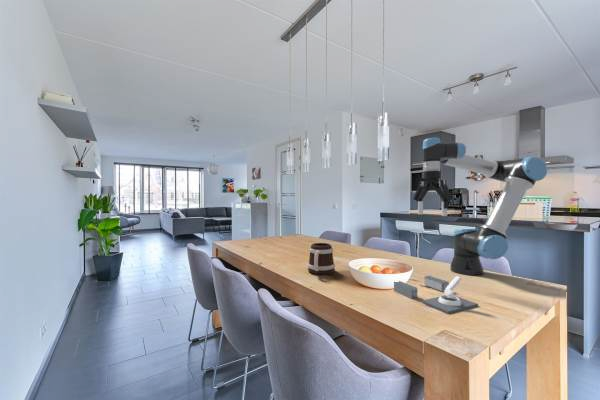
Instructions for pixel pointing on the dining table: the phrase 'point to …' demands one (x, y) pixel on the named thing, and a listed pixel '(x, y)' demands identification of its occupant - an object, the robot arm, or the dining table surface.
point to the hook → (450, 294)
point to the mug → (321, 259)
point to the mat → (449, 309)
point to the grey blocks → (412, 291)
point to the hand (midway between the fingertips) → (431, 215)
